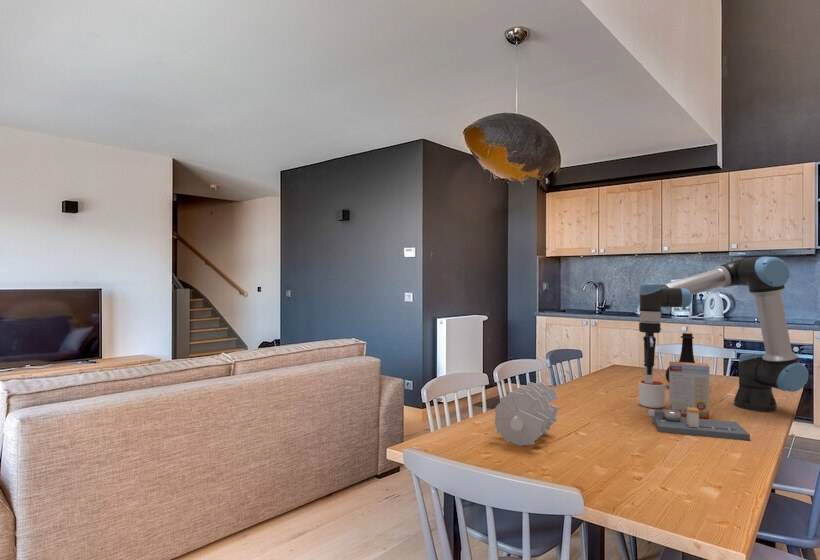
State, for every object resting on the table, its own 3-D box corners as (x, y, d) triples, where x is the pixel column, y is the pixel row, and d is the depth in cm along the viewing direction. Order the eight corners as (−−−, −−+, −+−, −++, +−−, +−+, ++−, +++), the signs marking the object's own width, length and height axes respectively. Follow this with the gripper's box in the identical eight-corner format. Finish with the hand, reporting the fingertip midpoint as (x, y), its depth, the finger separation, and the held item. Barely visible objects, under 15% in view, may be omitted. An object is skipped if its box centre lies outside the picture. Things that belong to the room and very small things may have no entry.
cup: (662, 410, 208) (662, 386, 208) (636, 406, 214) (636, 383, 214) (666, 405, 216) (666, 382, 216) (641, 401, 222) (642, 379, 222)
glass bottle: (660, 384, 258) (660, 330, 258) (697, 386, 256) (697, 331, 256) (673, 392, 240) (674, 334, 240) (713, 394, 238) (714, 335, 238)
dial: (679, 417, 188) (679, 409, 188) (682, 422, 183) (682, 414, 183) (647, 415, 192) (647, 407, 192) (649, 419, 186) (649, 411, 186)
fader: (696, 424, 180) (696, 407, 180) (699, 427, 176) (699, 410, 176) (686, 423, 181) (686, 407, 181) (688, 426, 177) (689, 409, 177)
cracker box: (707, 415, 200) (708, 363, 200) (709, 419, 195) (710, 365, 195) (668, 411, 206) (669, 360, 206) (669, 414, 201) (669, 362, 201)
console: (735, 427, 184) (735, 421, 184) (750, 440, 169) (750, 434, 169) (652, 420, 193) (652, 414, 193) (658, 431, 178) (658, 426, 178)
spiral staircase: (503, 458, 162) (525, 434, 183) (552, 443, 153) (570, 420, 175) (479, 405, 165) (504, 387, 186) (527, 388, 156) (547, 371, 178)
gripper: (637, 320, 201) (636, 378, 202) (641, 323, 189) (640, 385, 189) (657, 321, 199) (656, 380, 199) (663, 323, 187) (662, 386, 187)
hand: (648, 382), depth 194 cm, fingers closed
